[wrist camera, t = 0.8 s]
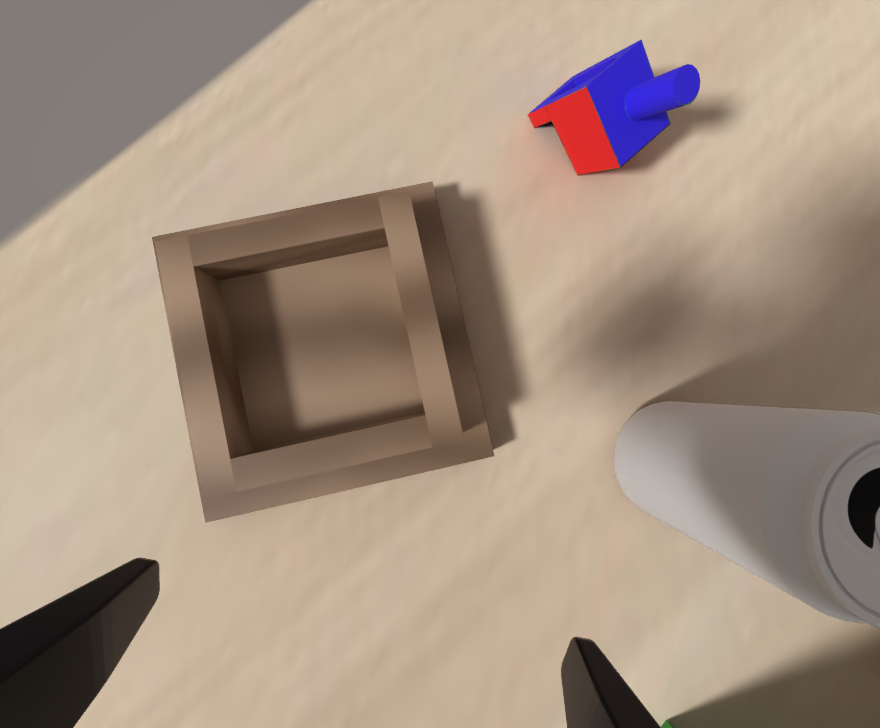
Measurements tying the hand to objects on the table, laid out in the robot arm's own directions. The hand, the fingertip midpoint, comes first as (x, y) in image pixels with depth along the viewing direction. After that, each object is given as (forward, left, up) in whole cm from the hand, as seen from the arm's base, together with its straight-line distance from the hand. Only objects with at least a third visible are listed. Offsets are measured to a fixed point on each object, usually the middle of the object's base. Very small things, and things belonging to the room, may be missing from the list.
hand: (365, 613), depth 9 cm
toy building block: (+17, -15, -14) cm, 26 cm away
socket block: (+8, +2, -14) cm, 16 cm away
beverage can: (-2, -15, -14) cm, 20 cm away
